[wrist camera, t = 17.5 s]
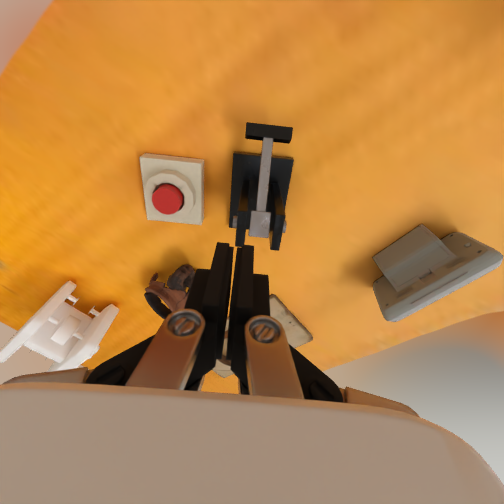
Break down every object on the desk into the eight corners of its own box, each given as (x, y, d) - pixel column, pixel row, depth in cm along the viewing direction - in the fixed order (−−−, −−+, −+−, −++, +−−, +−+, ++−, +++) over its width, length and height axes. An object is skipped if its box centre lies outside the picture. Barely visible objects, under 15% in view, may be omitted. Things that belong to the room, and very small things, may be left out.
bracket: (234, 151, 35) (224, 177, 25) (292, 157, 36) (306, 186, 26) (229, 224, 41) (220, 268, 31) (279, 229, 42) (287, 274, 32)
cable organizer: (76, 271, 47) (28, 321, 37) (126, 304, 51) (95, 357, 41) (37, 310, 52) (-13, 362, 42) (86, 337, 56) (50, 390, 47)
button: (154, 182, 34) (150, 187, 33) (182, 185, 34) (179, 190, 33) (157, 208, 36) (153, 213, 35) (183, 210, 36) (180, 216, 35)
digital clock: (370, 291, 48) (396, 339, 39) (350, 257, 44) (374, 302, 35) (466, 249, 43) (521, 293, 34) (453, 207, 39) (512, 244, 30)
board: (223, 376, 63) (221, 389, 61) (177, 343, 57) (173, 356, 54) (313, 336, 55) (316, 349, 52) (272, 292, 49) (273, 304, 46)
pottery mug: (208, 303, 51) (179, 334, 46) (172, 275, 53) (139, 303, 47) (219, 265, 42) (184, 299, 37) (175, 234, 44) (135, 262, 39)
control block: (145, 152, 36) (133, 160, 32) (204, 159, 36) (198, 167, 33) (152, 213, 40) (142, 225, 37) (204, 218, 41) (199, 230, 37)
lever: (246, 128, 30) (246, 120, 27) (289, 133, 30) (293, 125, 28) (236, 233, 31) (235, 234, 29) (278, 237, 31) (281, 239, 29)
